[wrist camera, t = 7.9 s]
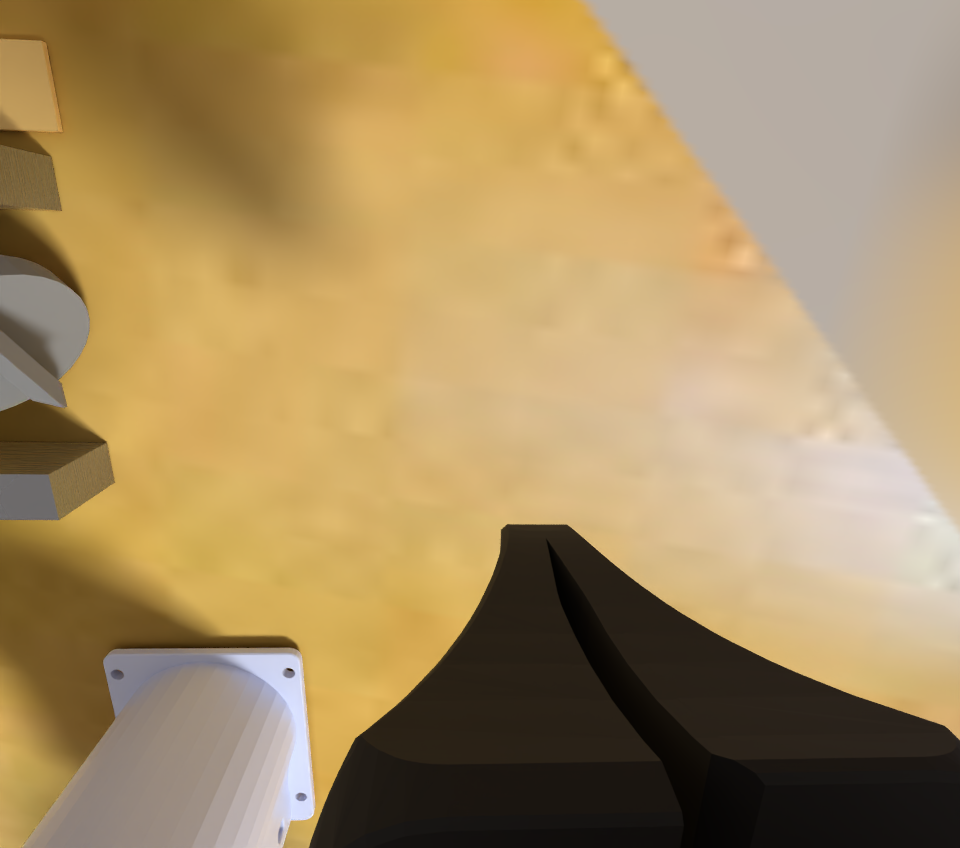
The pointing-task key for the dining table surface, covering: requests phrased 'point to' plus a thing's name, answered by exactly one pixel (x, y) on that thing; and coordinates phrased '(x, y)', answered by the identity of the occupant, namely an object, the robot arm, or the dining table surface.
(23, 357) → the grooved yellow cone
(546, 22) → the dining table surface
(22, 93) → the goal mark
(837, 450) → the dining table surface
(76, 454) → the bracket
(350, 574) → the dining table surface
